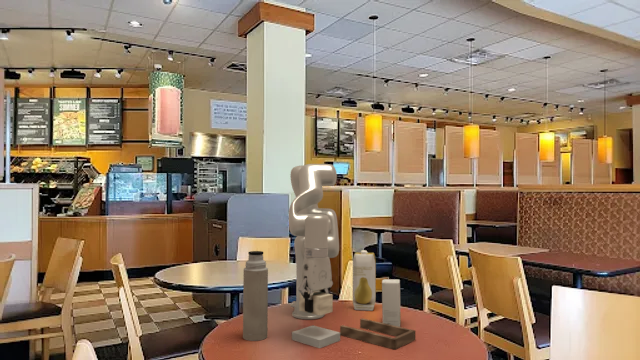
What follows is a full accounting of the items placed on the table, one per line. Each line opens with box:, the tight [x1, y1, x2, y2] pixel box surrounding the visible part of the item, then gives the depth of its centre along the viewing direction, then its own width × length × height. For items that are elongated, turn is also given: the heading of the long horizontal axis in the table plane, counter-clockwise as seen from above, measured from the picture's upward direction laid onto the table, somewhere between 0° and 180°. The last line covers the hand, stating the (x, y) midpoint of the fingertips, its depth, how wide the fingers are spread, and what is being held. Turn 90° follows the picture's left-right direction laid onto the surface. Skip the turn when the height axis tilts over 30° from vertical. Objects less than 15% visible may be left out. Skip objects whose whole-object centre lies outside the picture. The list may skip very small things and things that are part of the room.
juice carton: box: [352, 249, 377, 312], centre depth 183 cm, size 9×8×24 cm
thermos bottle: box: [242, 250, 269, 342], centre depth 146 cm, size 8×8×28 cm
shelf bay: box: [339, 318, 416, 350], centre depth 145 cm, size 21×12×3 cm, turn 48°
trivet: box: [291, 325, 341, 349], centre depth 142 cm, size 12×10×2 cm
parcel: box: [299, 291, 334, 315], centre depth 143 cm, size 9×6×6 cm
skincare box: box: [381, 278, 401, 327], centre depth 161 cm, size 8×7×16 cm
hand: (316, 309), depth 142 cm, fingers closed on parcel, 6 cm apart
